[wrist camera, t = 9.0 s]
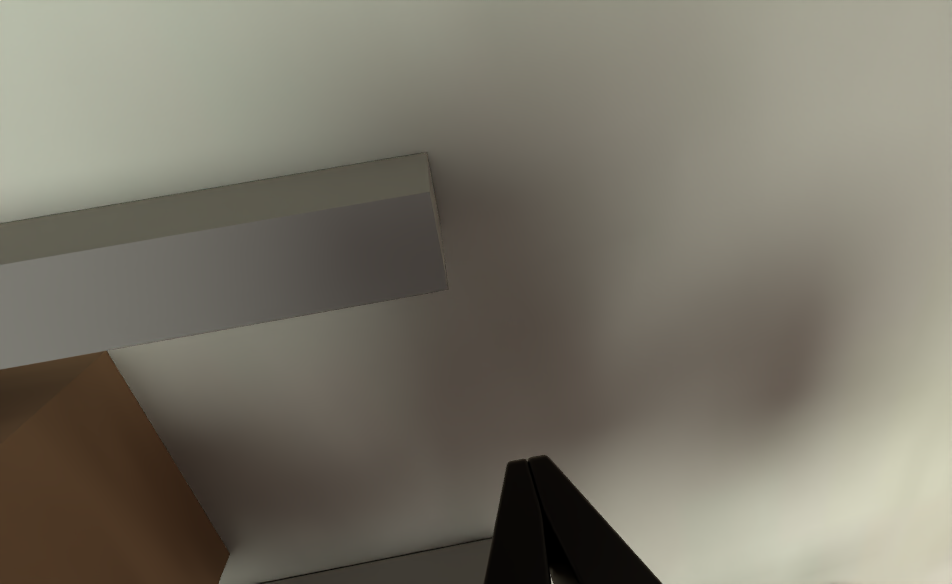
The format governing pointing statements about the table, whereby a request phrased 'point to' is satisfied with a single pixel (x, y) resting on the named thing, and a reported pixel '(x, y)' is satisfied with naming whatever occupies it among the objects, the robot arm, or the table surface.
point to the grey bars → (232, 282)
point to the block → (93, 485)
